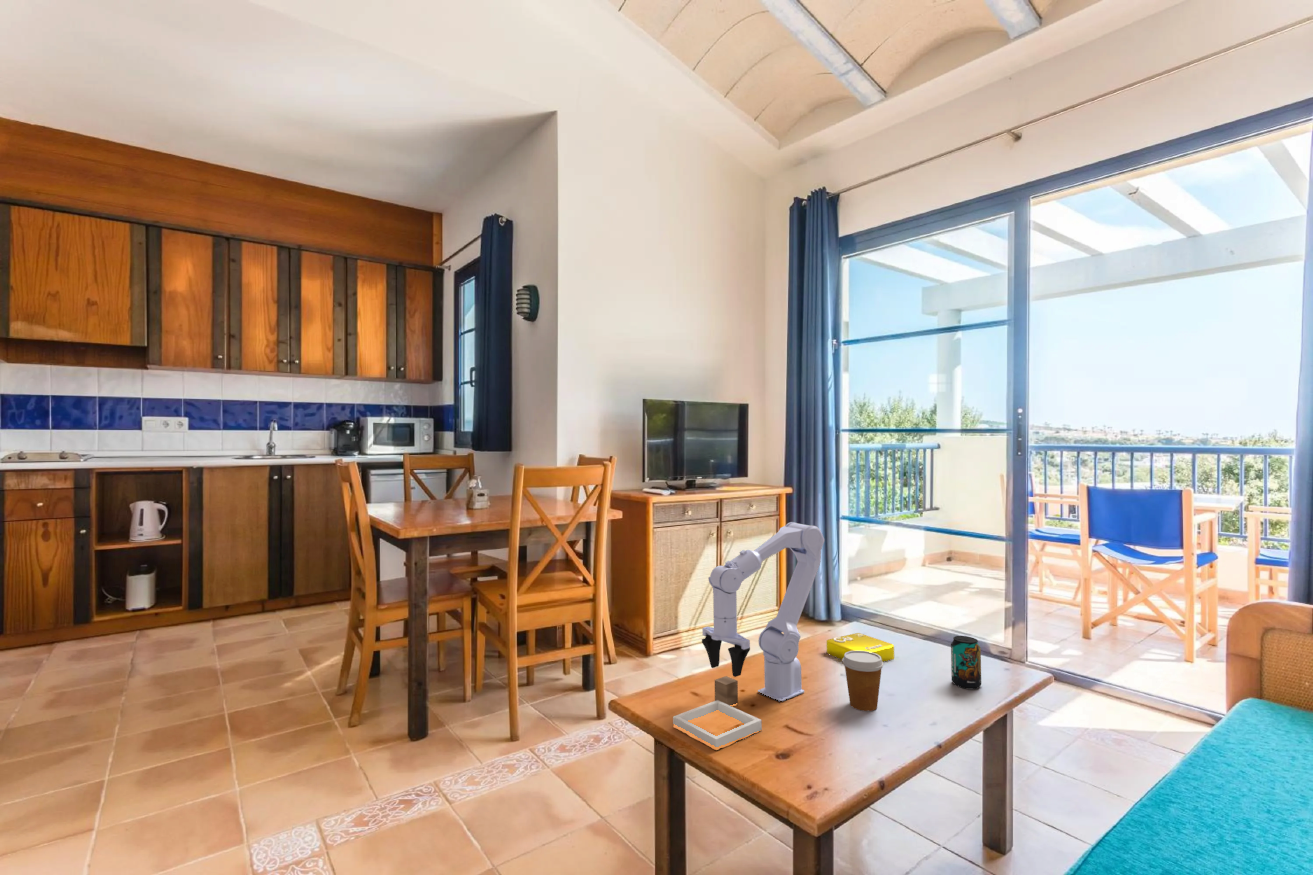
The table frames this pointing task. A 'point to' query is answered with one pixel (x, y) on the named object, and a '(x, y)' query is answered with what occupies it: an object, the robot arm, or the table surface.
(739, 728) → the white tray
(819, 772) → the table surface
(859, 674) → the disposable coffee cup
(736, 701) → the brown rectangular block
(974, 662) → the beverage can
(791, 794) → the table surface
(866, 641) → the yellow printed box
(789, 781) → the table surface
